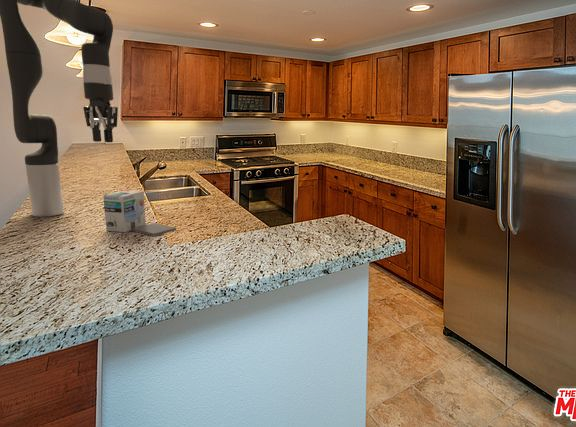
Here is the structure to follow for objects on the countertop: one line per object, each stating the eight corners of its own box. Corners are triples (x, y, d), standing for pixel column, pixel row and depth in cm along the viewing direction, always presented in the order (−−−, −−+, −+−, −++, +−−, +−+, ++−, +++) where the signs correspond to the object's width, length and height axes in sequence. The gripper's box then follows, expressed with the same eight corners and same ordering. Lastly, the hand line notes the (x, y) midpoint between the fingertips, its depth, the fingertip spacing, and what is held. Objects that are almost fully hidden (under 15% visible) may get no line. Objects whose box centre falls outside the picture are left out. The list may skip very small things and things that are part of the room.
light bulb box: (125, 233, 106) (122, 196, 103) (105, 231, 107) (101, 195, 105) (146, 224, 116) (144, 190, 114) (127, 222, 117) (125, 189, 115)
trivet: (131, 230, 108) (131, 228, 108) (154, 225, 115) (154, 222, 114) (153, 236, 103) (153, 233, 103) (176, 230, 109) (176, 227, 109)
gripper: (71, 82, 107) (77, 141, 111) (99, 79, 100) (105, 143, 104) (96, 85, 113) (101, 141, 117) (124, 83, 106) (128, 142, 110)
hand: (103, 141), depth 110 cm, fingers open, 5 cm apart
